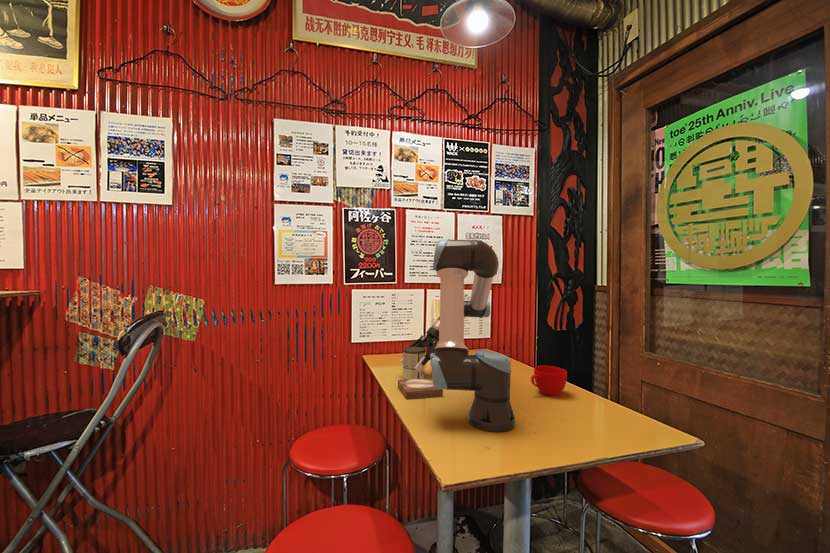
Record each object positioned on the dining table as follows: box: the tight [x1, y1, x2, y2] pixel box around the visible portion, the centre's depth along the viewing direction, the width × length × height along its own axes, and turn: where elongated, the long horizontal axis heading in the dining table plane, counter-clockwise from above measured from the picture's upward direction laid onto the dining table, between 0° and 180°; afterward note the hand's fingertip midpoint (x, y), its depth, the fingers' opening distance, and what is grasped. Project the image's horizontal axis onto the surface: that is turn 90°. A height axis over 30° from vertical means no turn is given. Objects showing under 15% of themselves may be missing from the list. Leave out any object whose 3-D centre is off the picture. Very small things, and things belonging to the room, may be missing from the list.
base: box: [397, 377, 444, 400], centre depth 147 cm, size 15×15×3 cm
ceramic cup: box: [530, 365, 568, 397], centre depth 148 cm, size 13×17×10 cm
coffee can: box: [401, 346, 426, 380], centre depth 164 cm, size 10×10×14 cm
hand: (409, 366), depth 163 cm, fingers open, 13 cm apart
